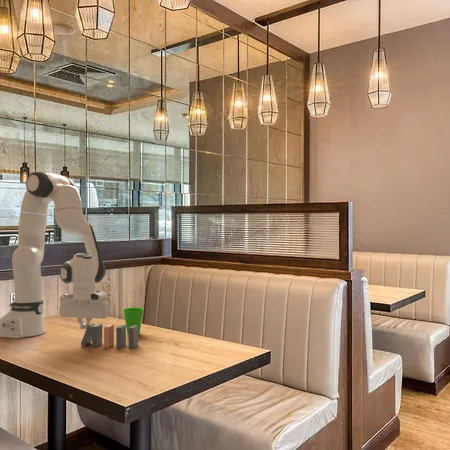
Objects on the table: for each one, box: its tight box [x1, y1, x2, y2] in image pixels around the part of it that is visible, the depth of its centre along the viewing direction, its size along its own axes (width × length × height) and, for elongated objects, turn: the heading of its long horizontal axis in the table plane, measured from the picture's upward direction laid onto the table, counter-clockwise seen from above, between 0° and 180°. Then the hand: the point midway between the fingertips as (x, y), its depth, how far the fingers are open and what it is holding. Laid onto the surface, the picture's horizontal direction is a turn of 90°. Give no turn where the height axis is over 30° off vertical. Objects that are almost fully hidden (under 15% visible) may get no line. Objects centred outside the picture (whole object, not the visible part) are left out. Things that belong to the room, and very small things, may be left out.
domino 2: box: [91, 323, 103, 348], centre depth 181 cm, size 2×5×8 cm, turn 171°
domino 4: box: [115, 324, 127, 349], centre depth 179 cm, size 2×5×8 cm, turn 171°
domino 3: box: [103, 323, 115, 348], centre depth 180 cm, size 2×5×8 cm, turn 171°
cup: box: [122, 306, 145, 336], centre depth 198 cm, size 9×9×11 cm
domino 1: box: [80, 322, 97, 347], centre depth 181 cm, size 2×5×8 cm, turn 170°
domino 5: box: [128, 325, 139, 350], centre depth 178 cm, size 2×5×8 cm, turn 171°
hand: (84, 328), depth 181 cm, fingers closed
